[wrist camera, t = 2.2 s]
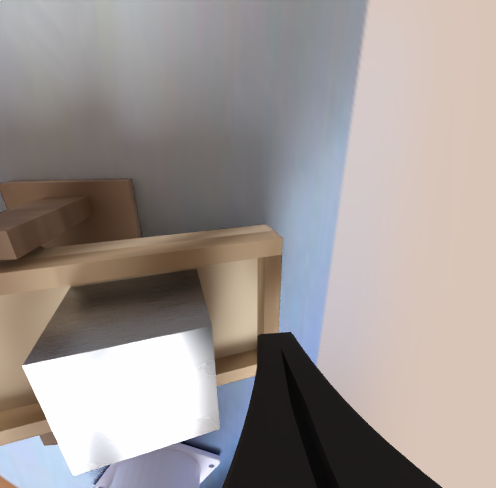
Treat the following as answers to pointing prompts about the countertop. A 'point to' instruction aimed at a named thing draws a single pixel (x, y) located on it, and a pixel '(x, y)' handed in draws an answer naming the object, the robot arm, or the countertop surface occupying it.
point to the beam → (133, 266)
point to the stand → (65, 218)
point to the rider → (126, 368)
